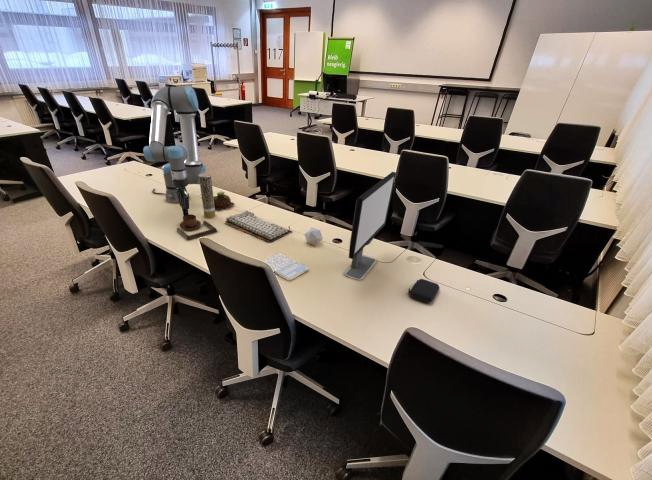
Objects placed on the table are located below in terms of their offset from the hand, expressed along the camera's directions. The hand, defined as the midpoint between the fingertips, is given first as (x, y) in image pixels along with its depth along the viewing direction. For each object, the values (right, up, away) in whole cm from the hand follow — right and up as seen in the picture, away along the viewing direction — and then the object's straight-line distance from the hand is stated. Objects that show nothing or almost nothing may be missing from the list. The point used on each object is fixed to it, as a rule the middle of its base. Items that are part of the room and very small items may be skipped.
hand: (186, 219), depth 189 cm
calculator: (+56, -31, -34) cm, 73 cm away
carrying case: (+116, -43, -48) cm, 133 cm away
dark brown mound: (+15, +14, +25) cm, 33 cm away
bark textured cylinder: (+11, +5, +12) cm, 17 cm away
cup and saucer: (+3, -5, -1) cm, 5 cm away
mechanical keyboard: (+40, -5, +1) cm, 41 cm away
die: (+72, -16, -13) cm, 75 cm away
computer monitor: (+94, -31, -32) cm, 103 cm away
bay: (+7, -8, -5) cm, 12 cm away
